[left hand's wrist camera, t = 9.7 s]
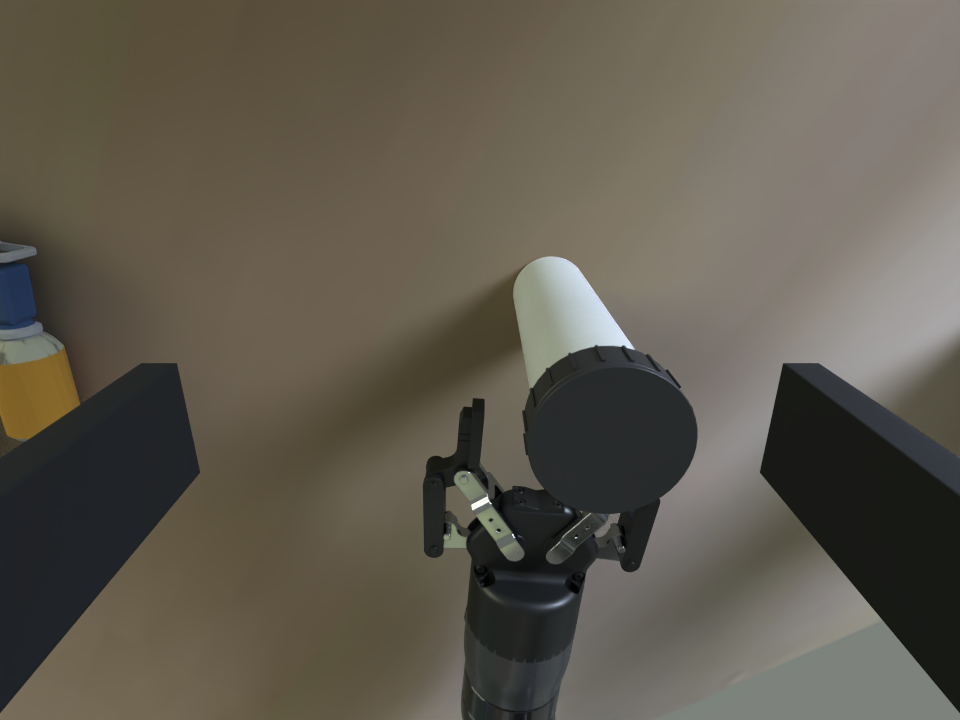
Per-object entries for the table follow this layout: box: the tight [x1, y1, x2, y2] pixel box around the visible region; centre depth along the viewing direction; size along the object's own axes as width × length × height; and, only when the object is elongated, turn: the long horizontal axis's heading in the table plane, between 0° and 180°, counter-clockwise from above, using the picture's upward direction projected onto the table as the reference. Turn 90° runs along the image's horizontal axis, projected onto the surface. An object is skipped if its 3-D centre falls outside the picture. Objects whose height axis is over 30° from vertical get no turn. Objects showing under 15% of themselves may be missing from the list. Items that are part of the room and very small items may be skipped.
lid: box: [522, 345, 697, 514], centre depth 20 cm, size 6×6×2 cm
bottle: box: [513, 257, 635, 388], centre depth 28 cm, size 5×5×19 cm
